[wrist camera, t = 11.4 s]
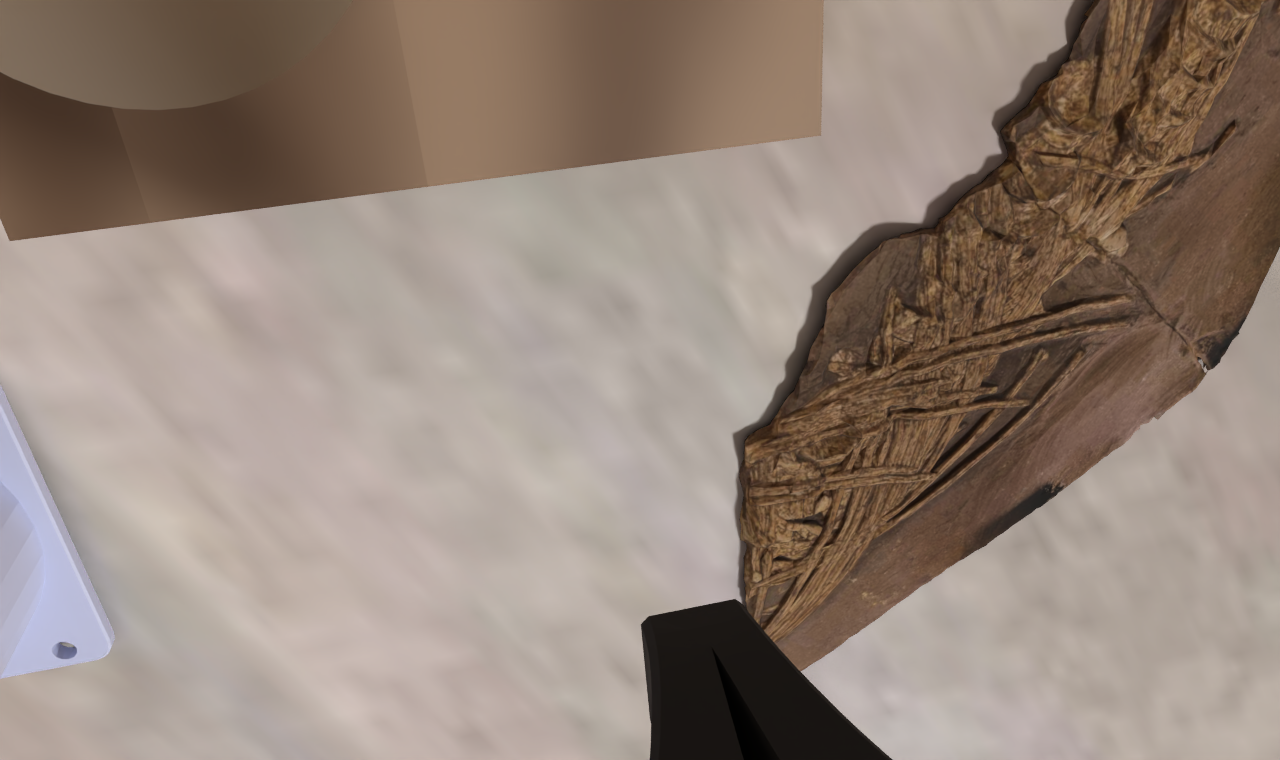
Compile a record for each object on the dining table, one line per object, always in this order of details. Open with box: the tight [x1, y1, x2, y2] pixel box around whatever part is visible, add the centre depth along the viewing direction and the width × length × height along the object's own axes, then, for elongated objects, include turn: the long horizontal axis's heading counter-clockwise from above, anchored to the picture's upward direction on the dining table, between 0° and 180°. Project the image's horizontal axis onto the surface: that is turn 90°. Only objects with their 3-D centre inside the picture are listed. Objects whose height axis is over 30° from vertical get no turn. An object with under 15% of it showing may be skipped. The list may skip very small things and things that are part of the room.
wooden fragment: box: [739, 0, 1280, 671], centre depth 24 cm, size 26×11×1 cm, turn 144°
